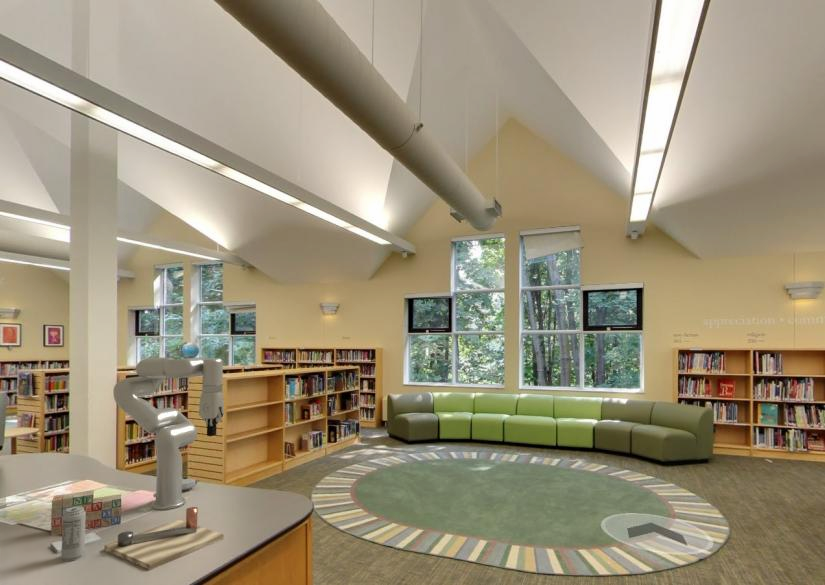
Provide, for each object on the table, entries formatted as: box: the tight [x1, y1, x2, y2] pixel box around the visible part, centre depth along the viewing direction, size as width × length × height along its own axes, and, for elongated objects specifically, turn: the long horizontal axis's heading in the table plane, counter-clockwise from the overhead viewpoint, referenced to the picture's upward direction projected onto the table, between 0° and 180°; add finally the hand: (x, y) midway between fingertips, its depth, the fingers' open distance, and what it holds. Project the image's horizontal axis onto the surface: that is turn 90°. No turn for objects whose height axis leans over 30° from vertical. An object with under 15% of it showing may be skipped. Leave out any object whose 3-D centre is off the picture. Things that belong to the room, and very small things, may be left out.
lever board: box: [103, 519, 225, 571], centre depth 169 cm, size 26×26×2 cm
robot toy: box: [182, 477, 201, 491], centre depth 228 cm, size 12×4×15 cm
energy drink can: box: [61, 506, 86, 562], centre depth 160 cm, size 6×6×15 cm
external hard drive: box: [50, 532, 102, 554], centre depth 170 cm, size 2×8×12 cm
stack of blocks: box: [50, 489, 122, 537], centre depth 185 cm, size 21×6×12 cm, turn 119°
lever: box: [117, 506, 198, 546], centre depth 171 cm, size 24×4×8 cm, turn 119°
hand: (211, 435), depth 203 cm, fingers closed
